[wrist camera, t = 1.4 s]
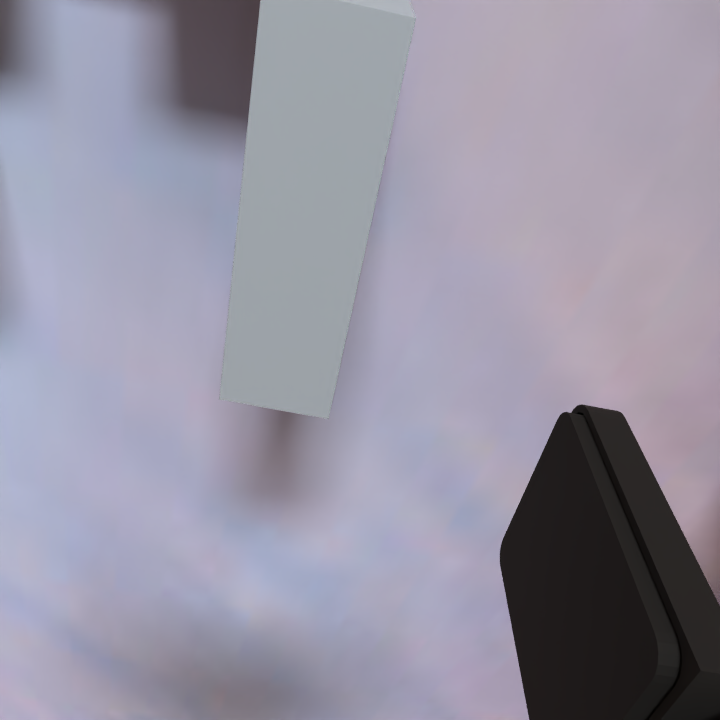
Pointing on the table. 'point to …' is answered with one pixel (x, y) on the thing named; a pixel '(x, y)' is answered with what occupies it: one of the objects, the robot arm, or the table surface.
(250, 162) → the flat gray plate
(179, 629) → the table surface
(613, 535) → the robot arm
